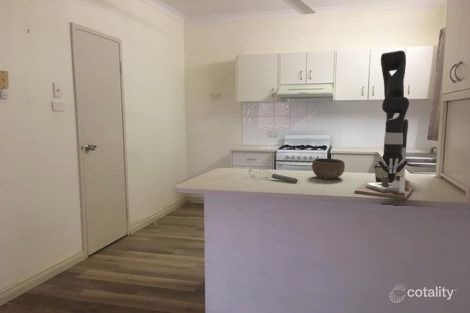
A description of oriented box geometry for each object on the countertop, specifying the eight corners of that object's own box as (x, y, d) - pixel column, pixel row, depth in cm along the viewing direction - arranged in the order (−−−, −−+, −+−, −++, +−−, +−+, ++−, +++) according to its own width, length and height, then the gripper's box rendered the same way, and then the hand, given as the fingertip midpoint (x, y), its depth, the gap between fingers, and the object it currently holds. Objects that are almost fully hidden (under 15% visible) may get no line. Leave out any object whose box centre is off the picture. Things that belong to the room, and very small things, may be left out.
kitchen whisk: (297, 184, 186) (297, 172, 185) (245, 177, 207) (245, 166, 206) (303, 183, 190) (303, 171, 189) (252, 176, 212) (252, 165, 211)
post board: (366, 184, 184) (366, 171, 184) (413, 189, 172) (414, 175, 172) (354, 192, 166) (355, 178, 165) (406, 199, 154) (407, 183, 153)
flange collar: (365, 186, 173) (366, 170, 172) (385, 184, 177) (386, 169, 176) (391, 194, 157) (391, 176, 156) (412, 192, 161) (413, 175, 160)
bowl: (347, 180, 195) (348, 162, 194) (315, 180, 195) (315, 162, 194) (339, 174, 212) (340, 158, 211) (309, 174, 212) (309, 158, 211)
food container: (399, 183, 187) (400, 164, 186) (398, 185, 182) (399, 166, 181) (374, 181, 193) (375, 162, 192) (372, 183, 188) (373, 164, 187)
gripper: (405, 142, 161) (402, 180, 163) (375, 141, 162) (373, 179, 164) (412, 143, 154) (409, 183, 156) (380, 143, 155) (378, 182, 157)
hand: (391, 181), depth 160 cm, fingers closed
